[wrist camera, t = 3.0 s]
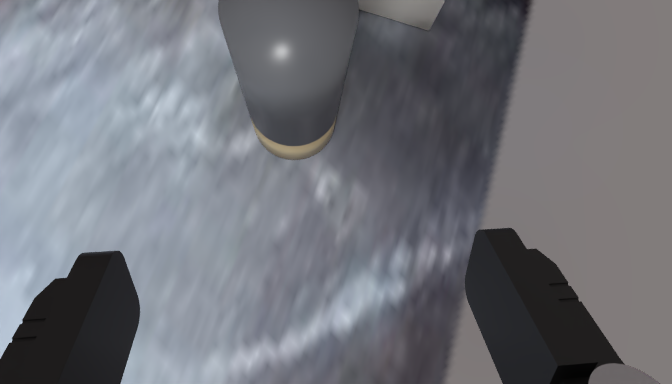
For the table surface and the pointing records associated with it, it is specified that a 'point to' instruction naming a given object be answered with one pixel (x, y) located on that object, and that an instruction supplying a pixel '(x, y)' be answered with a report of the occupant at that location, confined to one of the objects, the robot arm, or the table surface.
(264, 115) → the dark grey cylinder
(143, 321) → the table surface
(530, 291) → the robot arm
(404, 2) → the walled box
